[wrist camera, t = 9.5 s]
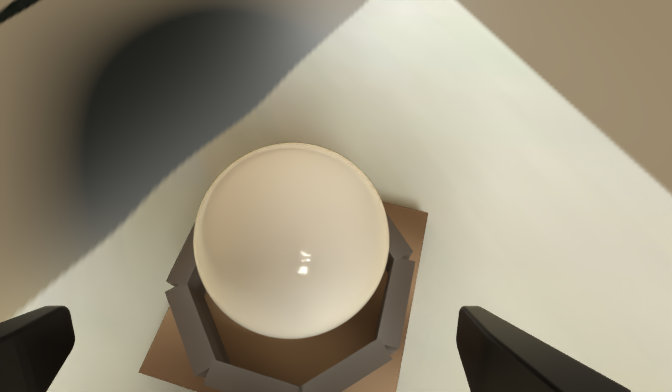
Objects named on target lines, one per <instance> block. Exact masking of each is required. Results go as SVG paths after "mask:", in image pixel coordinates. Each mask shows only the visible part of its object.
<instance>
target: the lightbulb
mask: <svg viewBox="0 0 672 392" xmlns="http://www.w3.org/2000/svg"><path fill="white" fill-rule="evenodd" d="M193 248H194V257H195V262H196V267H197V270H198V273H199V276H200V279H201V281H202V283H203V286H204V288H205V289H206V291H207V293H208V295H209V296H210V298H211V299H212V300H213V302H214V303H215V304H216V305H217V307H218V308H219V309H220V310H221V311H222V312H223V313H224V314H225V315H227V316H228V317H229V318H230V319H231V320H233V321H234V322H236V323H237V324H239V325H240V326H242V327H244V328H246V329H248V330H250V331H252V332H255V333H257V334H260V335H264V336H268V337H272V338H279V339H301V338H308V337H313V336H317V335H320V334H323V333H326V332H328V331H331V330H333V329H335V328H337V327H338V326H340V325H342V324H343V323H345V322H346V321H348V320H349V319H351V318H352V317H353V316H354V315H355V314H357V313H358V312H359V311H360V310H361V309H362V308H363V307H364V306H365V304H366V303H367V302H368V301H369V299H370V298H371V297H372V295H373V294H374V292H375V291H376V289H377V287H378V285H379V283H380V281H381V279H382V277H383V274H384V271H385V268H386V264H387V260H388V254H389V226H388V220H387V216H386V212H385V209H384V206H383V203H382V201H381V199H380V197H379V195H378V193H377V191H376V189H375V188H374V186H373V185H372V183H371V182H370V180H369V179H368V178H367V177H366V176H365V174H364V173H363V172H362V171H361V170H360V169H359V168H358V167H356V166H355V165H354V164H353V163H352V162H350V161H349V160H347V159H346V158H344V157H343V156H341V155H339V154H337V153H335V152H333V151H331V150H328V149H326V148H323V147H319V146H316V145H311V144H305V143H281V144H274V145H270V146H266V147H263V148H260V149H257V150H254V151H252V152H250V153H248V154H246V155H244V156H242V157H241V158H239V159H238V160H236V161H235V162H233V163H232V164H231V165H230V166H228V167H227V168H226V169H225V170H224V171H223V172H222V173H221V174H220V175H219V176H218V177H217V178H216V180H215V181H214V182H213V184H212V185H211V186H210V188H209V189H208V191H207V193H206V195H205V196H204V198H203V201H202V203H201V205H200V208H199V211H198V214H197V217H196V222H195V227H194V237H193Z"/></svg>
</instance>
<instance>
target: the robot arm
mask: <svg viewBox="0 0 672 392" xmlns="http://www.w3.org/2000/svg"><path fill="white" fill-rule="evenodd" d="M74 342H75V335H74V330H73V325H72V320H71V315H70V311H69V309H68V308H67V307H65V306H45V307H42V308H39V309H36V310H34V311H31V312H28V313H25V314H23V315H20V316H17V317H15V318H12V319H9V320H6V321H4V322H1V323H0V392H46V391H47V390H48V388H49V386H50V385H51V383H52V381H53V380H54V378H55V377H56V375H57V373H58V372H59V370H60V368H61V367H62V365H63V363H64V362H65V360H66V359H67V357H68V355H69V354H70V352H71V350H72V348H73V346H74ZM456 342H457V348H458V351H459V355H460V358H461V361H462V364H463V368H464V371H465V374H466V378H467V381H468V384H469V387H470V391H471V392H631V391H630V390H629V389H627V388H626V387H624V386H622V385H620V384H618V383H617V382H615V381H613V380H611V379H609V378H608V377H606V376H604V375H602V374H600V373H598V372H597V371H595V370H593V369H591V368H589V367H588V366H586V365H584V364H582V363H580V362H579V361H577V360H575V359H573V358H571V357H570V356H568V355H566V354H564V353H562V352H561V351H559V350H557V349H555V348H553V347H552V346H550V345H548V344H546V343H544V342H543V341H541V340H539V339H537V338H535V337H534V336H532V335H530V334H528V333H526V332H525V331H523V330H521V329H519V328H517V327H516V326H514V325H512V324H510V323H508V322H507V321H505V320H503V319H501V318H499V317H498V316H496V315H494V314H492V313H490V312H489V311H487V310H485V309H483V308H481V307H479V306H463V307H461V309H460V311H459V318H458V327H457V335H456Z"/></svg>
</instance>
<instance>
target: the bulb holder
mask: <svg viewBox="0 0 672 392" xmlns="http://www.w3.org/2000/svg"><path fill="white" fill-rule="evenodd" d="M382 203H383V206H384V209H385V212H386V216H387V220H388V226H389V254H388V260H387V264H386V268H385V271H384V274H383V277H382V279H381V281H380V283H379V285H378V287H377V289H376V291H375V292H374V294H373V295H372V297H371V298H370V299H369V301H368V302H367V303H366V304H365V306H364V307H363V308H362V309H361V310H360V311H359V312H358V313H357V314H355V315H354V316H353V317H352V318H351V319H349V320H348V321H346V322H345V323H343V324H342V325H340V326H338V327H337V328H335V329H333V330H331V331H328V332H326V333H323V334H320V335H317V336H313V337H308V338H301V339H279V338H272V337H268V336H264V335H260V334H257V333H255V332H252V331H250V330H248V329H246V328H244V327H242V326H240V325H239V324H237V323H236V322H234V321H233V320H231V319H230V318H229V317H228V316H227V315H225V314H224V313H223V312H222V311H221V310H220V309H219V308H218V307H217V305H216V304H215V303H214V302H213V300H212V299H211V298H210V296H209V295H208V293H207V291H206V289H205V288H204V286H203V283H202V281H201V279H200V276H199V273H198V270H197V267H196V262H195V257H194V248H193V237H194V227H195V223H194V225H193V227H192V229H191V231H190V233H189V236H188V238H187V240H186V242H185V244H184V246H183V248H182V250H181V252H180V254H179V256H178V258H177V260H176V262H175V264H174V266H173V268H172V270H171V272H170V274H169V276H168V278H167V280H166V281H167V282H168V283H170V284H171V285H173V286H174V288H172V289H170V290H168V291H166V292H165V293H166V296H167V299H168V302H169V305H170V307H169V309H168V311H167V313H166V315H165V317H164V319H163V322H162V324H161V326H160V328H159V330H158V332H157V334H156V336H155V338H154V341H153V343H152V345H151V347H150V349H149V351H148V353H147V355H146V357H145V360H144V362H143V364H142V366H141V368H140V370H139V373H142V374H145V375H148V376H152V377H155V378H158V379H161V380H164V381H167V382H170V383H173V384H176V385H179V386H182V387H185V388H188V389H191V390H194V391H197V392H396V389H397V384H398V378H399V372H400V367H401V361H402V356H403V350H404V345H405V339H406V334H407V328H408V322H409V317H410V311H411V306H412V300H413V295H414V289H415V283H416V278H417V272H418V267H419V261H420V256H421V250H422V245H423V239H424V233H425V228H426V222H427V217H428V213H427V212H422V211H418V210H414V209H410V208H406V207H401V206H397V205H393V204H389V203H385V202H382ZM195 222H196V221H195Z"/></svg>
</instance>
